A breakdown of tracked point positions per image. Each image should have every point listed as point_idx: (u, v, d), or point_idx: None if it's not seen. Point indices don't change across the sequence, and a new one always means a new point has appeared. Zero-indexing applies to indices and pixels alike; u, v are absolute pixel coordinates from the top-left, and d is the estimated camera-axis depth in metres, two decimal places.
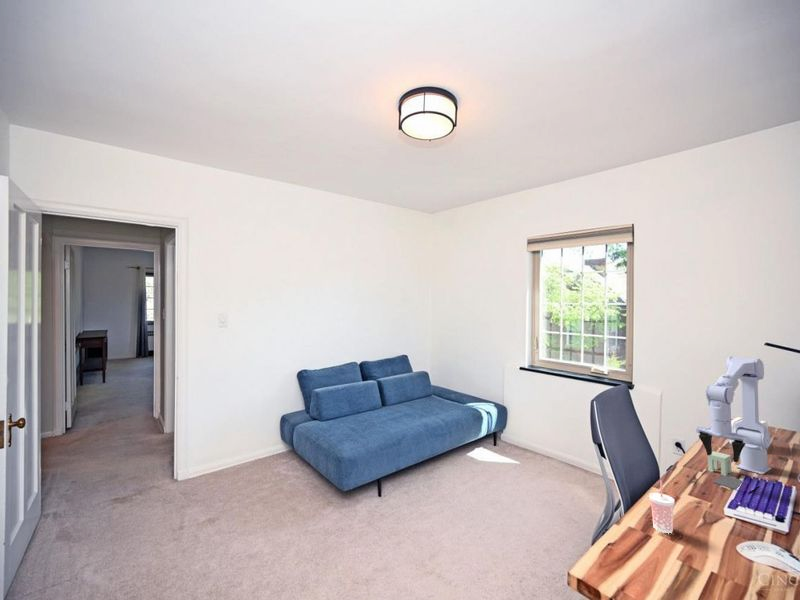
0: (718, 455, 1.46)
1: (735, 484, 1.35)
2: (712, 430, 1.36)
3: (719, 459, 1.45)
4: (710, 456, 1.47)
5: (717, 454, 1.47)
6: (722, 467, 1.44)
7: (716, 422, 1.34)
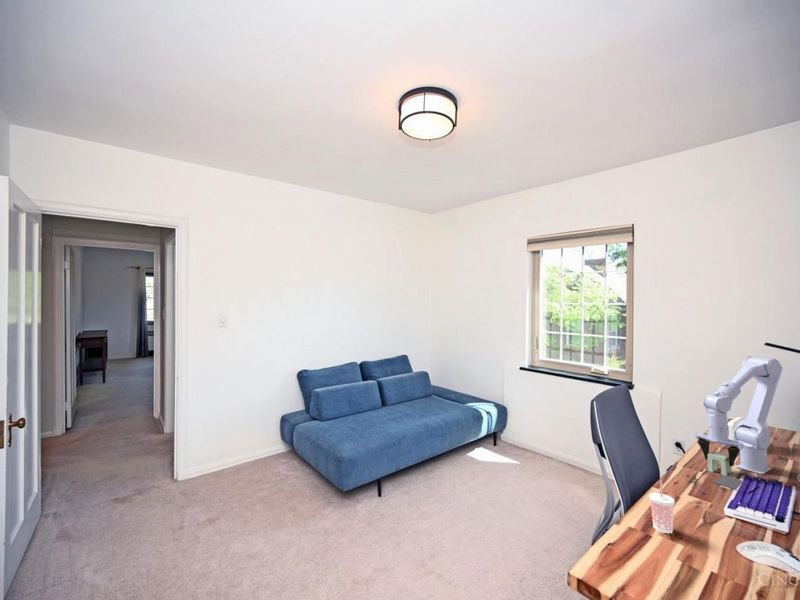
0: (718, 455, 1.46)
1: (735, 484, 1.35)
2: (710, 436, 1.48)
3: (719, 459, 1.45)
4: (710, 456, 1.47)
5: (717, 454, 1.47)
6: (722, 467, 1.44)
7: (713, 429, 1.46)
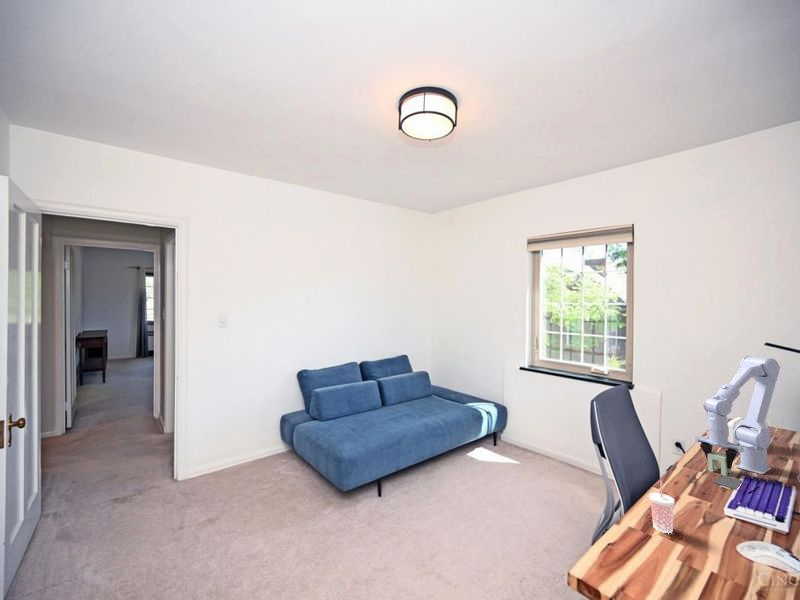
0: (718, 455, 1.46)
1: (735, 484, 1.35)
2: (710, 439, 1.48)
3: (719, 459, 1.45)
4: (710, 456, 1.47)
5: (717, 454, 1.47)
6: (722, 467, 1.44)
7: (714, 432, 1.46)
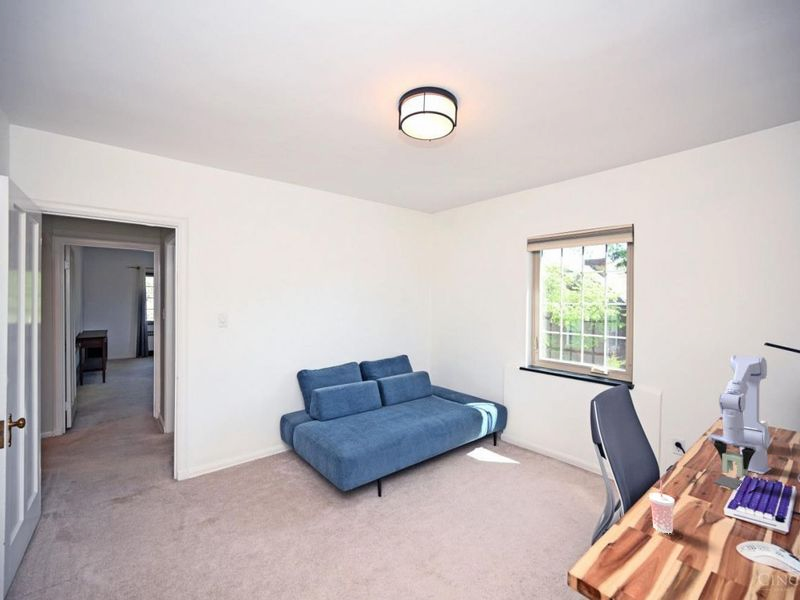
0: (734, 455, 1.36)
1: (735, 484, 1.35)
2: (725, 438, 1.37)
3: (735, 460, 1.34)
4: (725, 456, 1.36)
5: (733, 454, 1.36)
6: (738, 468, 1.33)
7: (729, 430, 1.35)
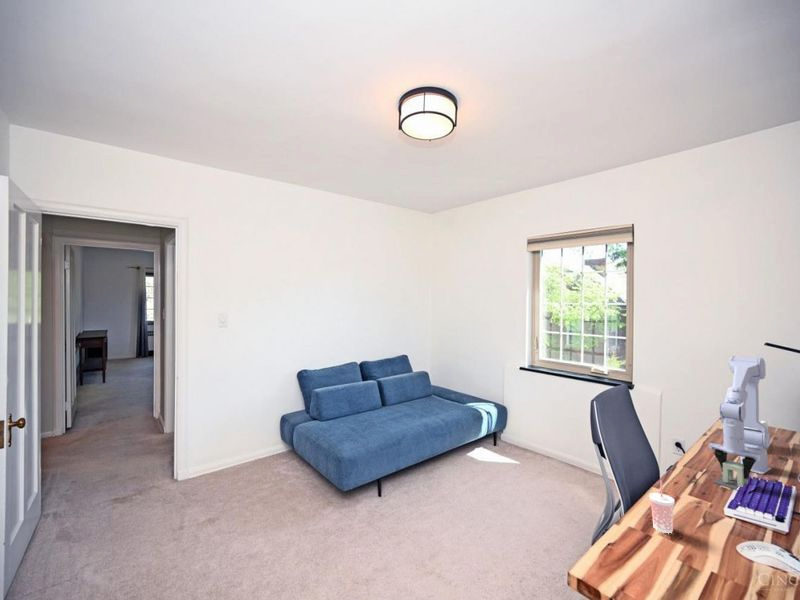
0: (734, 465, 1.35)
1: (735, 484, 1.35)
2: (725, 447, 1.37)
3: (736, 469, 1.34)
4: (725, 465, 1.36)
5: (733, 464, 1.36)
6: (739, 478, 1.33)
7: (729, 439, 1.35)
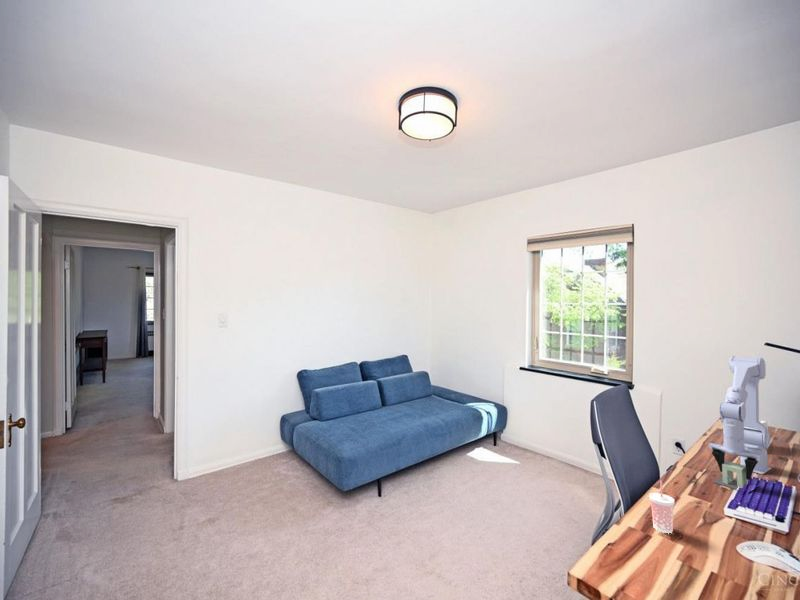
0: (734, 466, 1.36)
1: (735, 484, 1.35)
2: (725, 447, 1.37)
3: (735, 470, 1.34)
4: (725, 467, 1.36)
5: (732, 465, 1.36)
6: (738, 479, 1.33)
7: (729, 439, 1.35)
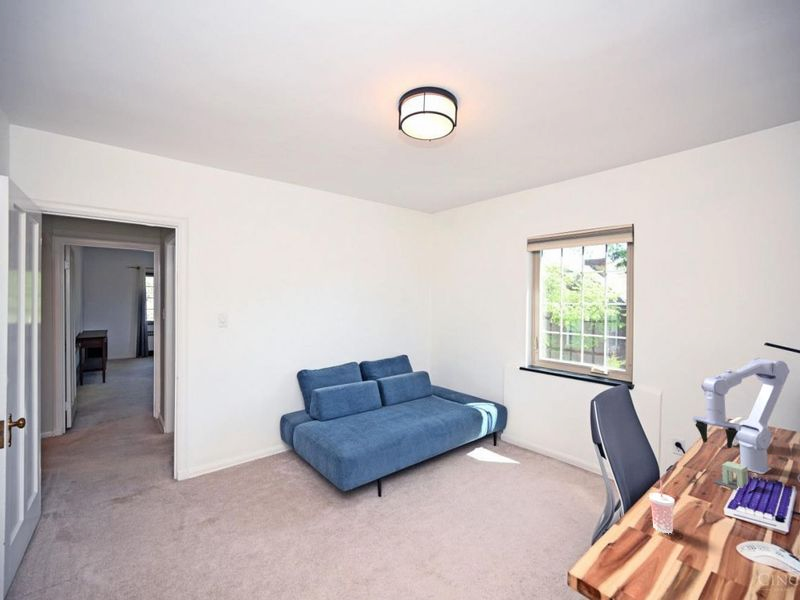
0: (734, 466, 1.36)
1: (735, 484, 1.35)
2: (708, 419, 1.48)
3: (735, 470, 1.34)
4: (725, 467, 1.36)
5: (732, 465, 1.36)
6: (738, 479, 1.33)
7: (711, 411, 1.46)
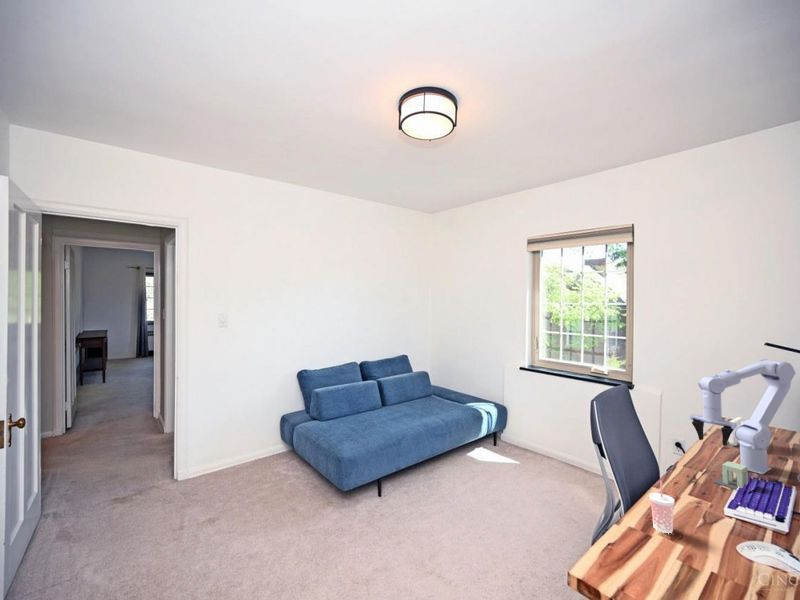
0: (734, 466, 1.36)
1: (735, 484, 1.35)
2: (704, 417, 1.50)
3: (735, 470, 1.34)
4: (725, 467, 1.36)
5: (732, 465, 1.36)
6: (738, 479, 1.33)
7: (708, 410, 1.49)
